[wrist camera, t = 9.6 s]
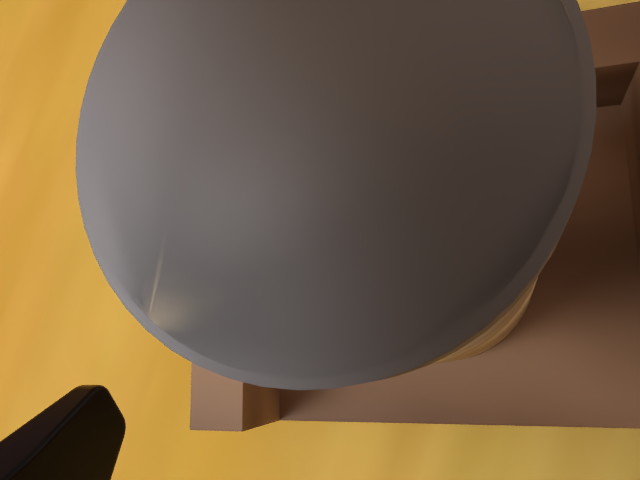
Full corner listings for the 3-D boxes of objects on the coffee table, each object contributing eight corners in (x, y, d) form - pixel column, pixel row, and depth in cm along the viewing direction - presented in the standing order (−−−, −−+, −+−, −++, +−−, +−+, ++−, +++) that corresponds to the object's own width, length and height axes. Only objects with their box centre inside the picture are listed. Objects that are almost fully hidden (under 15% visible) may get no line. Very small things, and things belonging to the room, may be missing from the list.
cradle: (717, 426, 15) (772, 447, 12) (244, 416, 19) (189, 430, 16) (668, 58, 17) (704, -10, 14) (247, 117, 21) (199, 75, 18)
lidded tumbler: (428, 403, 16) (244, 512, 5) (319, 260, 18) (4, 109, 7) (581, 284, 16) (750, 116, 5) (453, 147, 18) (347, -221, 6)
